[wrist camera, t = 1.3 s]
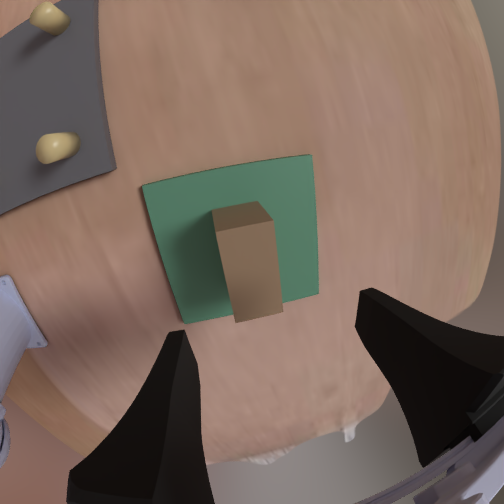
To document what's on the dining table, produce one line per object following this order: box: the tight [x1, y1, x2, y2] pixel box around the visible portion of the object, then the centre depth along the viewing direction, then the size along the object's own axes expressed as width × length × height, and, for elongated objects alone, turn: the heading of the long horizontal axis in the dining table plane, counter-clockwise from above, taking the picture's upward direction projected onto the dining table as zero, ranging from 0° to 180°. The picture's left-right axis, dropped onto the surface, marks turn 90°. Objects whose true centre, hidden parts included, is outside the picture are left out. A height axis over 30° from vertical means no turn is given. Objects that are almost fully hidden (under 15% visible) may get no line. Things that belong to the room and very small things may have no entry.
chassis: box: [0, 0, 117, 214], centre depth 9 cm, size 14×14×4 cm
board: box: [142, 154, 319, 324], centre depth 17 cm, size 11×11×5 cm
